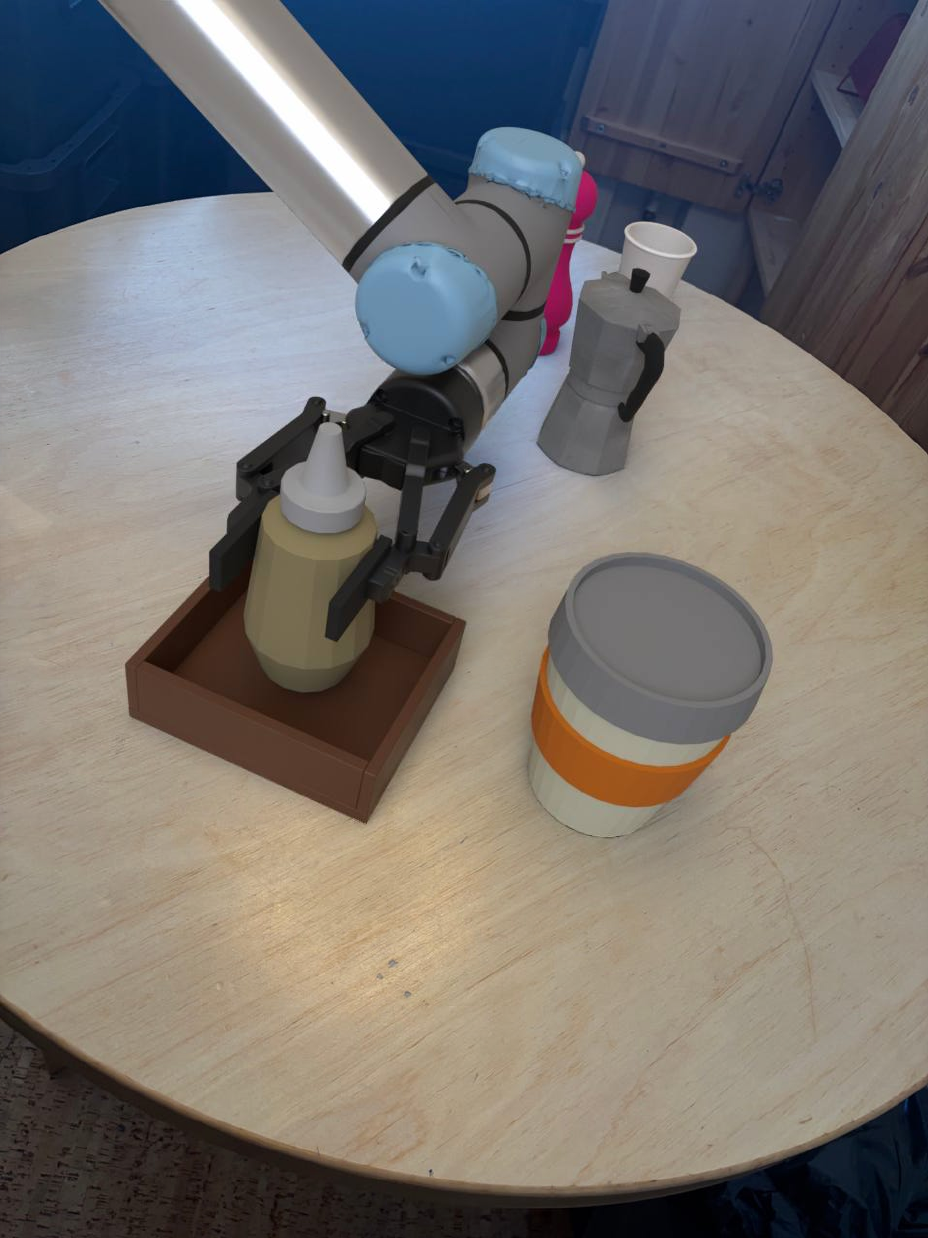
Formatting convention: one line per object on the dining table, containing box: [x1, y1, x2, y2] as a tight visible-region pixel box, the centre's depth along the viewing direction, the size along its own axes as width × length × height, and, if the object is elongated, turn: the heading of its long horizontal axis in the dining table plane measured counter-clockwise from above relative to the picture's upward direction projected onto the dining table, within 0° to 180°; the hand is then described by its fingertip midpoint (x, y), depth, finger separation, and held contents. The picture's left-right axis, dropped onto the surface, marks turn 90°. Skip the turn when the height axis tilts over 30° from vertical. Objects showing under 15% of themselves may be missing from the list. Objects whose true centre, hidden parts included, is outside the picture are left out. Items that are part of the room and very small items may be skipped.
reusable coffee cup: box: [527, 551, 774, 836], centre depth 58 cm, size 13×12×15 cm
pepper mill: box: [538, 151, 599, 356], centre depth 97 cm, size 7×7×20 cm
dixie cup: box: [618, 221, 698, 301], centre depth 109 cm, size 8×8×10 cm
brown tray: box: [124, 557, 467, 824], centre depth 62 cm, size 17×15×5 cm
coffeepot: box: [536, 268, 682, 476], centre depth 84 cm, size 15×9×18 cm, turn 10°
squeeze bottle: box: [244, 422, 379, 692], centre depth 55 cm, size 8×8×18 cm
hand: (273, 596), depth 51 cm, fingers closed on squeeze bottle, 6 cm apart
